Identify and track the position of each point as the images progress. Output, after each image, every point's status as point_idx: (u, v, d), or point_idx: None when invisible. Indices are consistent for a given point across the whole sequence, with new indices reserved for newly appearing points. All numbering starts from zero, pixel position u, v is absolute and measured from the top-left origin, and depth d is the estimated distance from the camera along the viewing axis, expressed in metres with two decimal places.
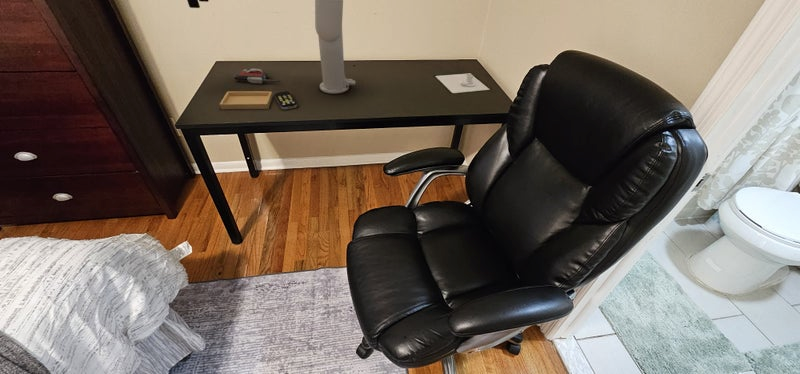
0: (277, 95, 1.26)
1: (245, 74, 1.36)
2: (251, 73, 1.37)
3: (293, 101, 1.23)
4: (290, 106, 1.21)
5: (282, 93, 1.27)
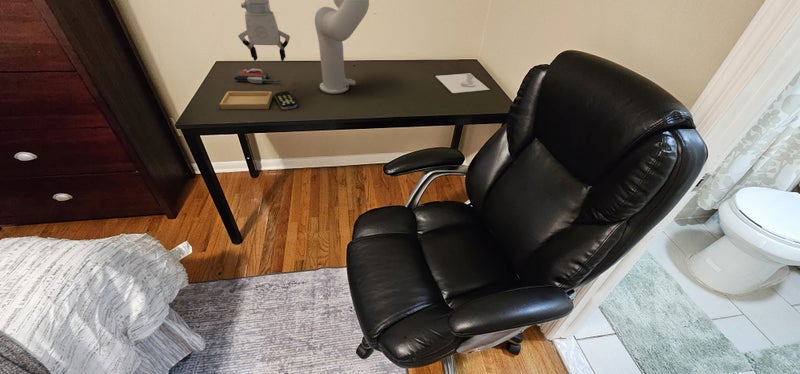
0: (277, 95, 1.26)
1: (245, 74, 1.36)
2: (251, 73, 1.37)
3: (293, 101, 1.23)
4: (290, 106, 1.21)
5: (282, 93, 1.27)
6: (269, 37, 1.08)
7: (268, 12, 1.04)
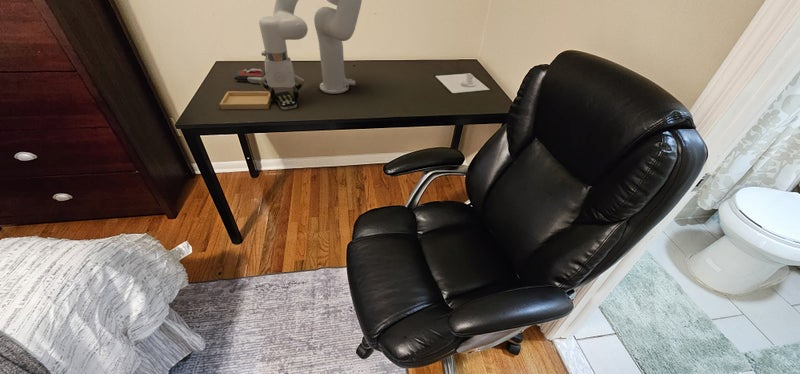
0: (277, 95, 1.26)
1: (245, 74, 1.36)
2: (251, 73, 1.37)
3: (293, 101, 1.23)
4: (290, 106, 1.21)
5: (282, 93, 1.27)
6: (286, 81, 1.17)
7: (286, 59, 1.13)
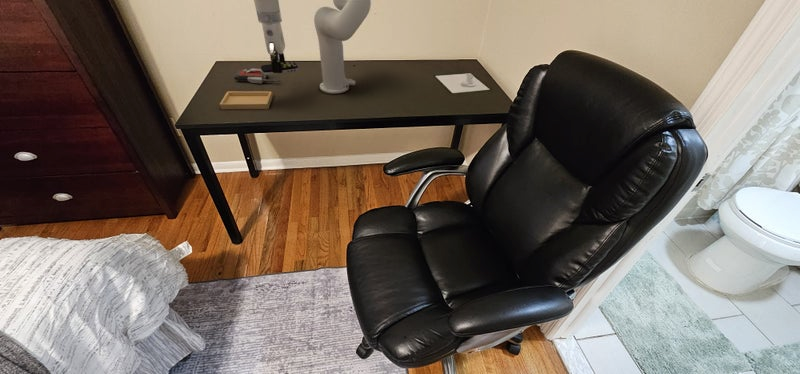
0: (271, 69, 1.13)
1: (245, 74, 1.36)
2: (251, 73, 1.37)
3: (289, 62, 1.19)
4: None
5: (267, 67, 1.14)
6: (283, 41, 1.13)
7: None
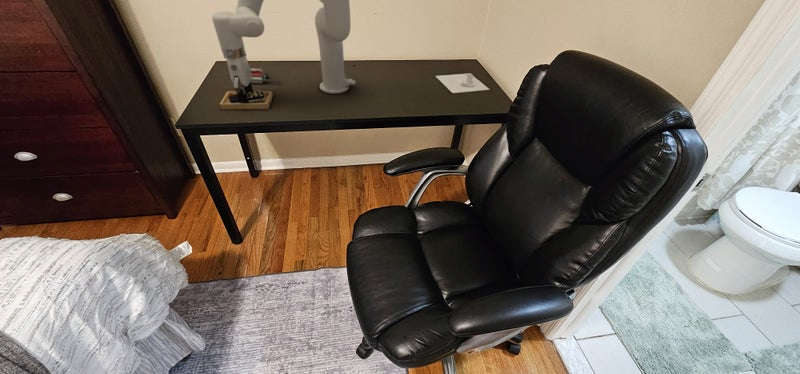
0: (238, 99, 1.19)
1: None
2: (251, 73, 1.37)
3: (256, 91, 1.25)
4: (263, 94, 1.25)
5: (234, 97, 1.20)
6: (249, 73, 1.18)
7: None
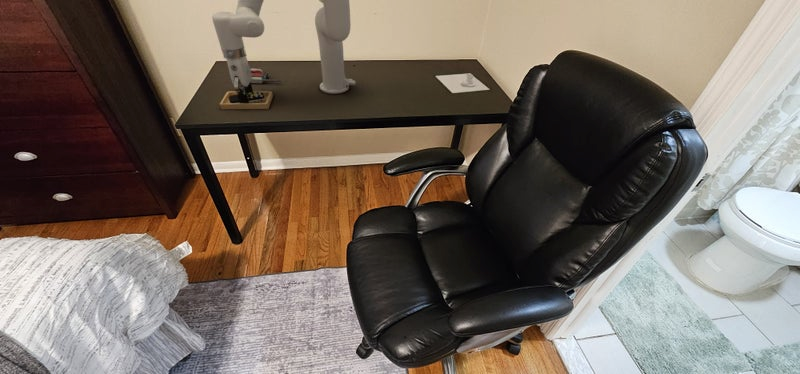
0: (238, 99, 1.19)
1: None
2: (251, 73, 1.37)
3: (257, 92, 1.25)
4: (263, 95, 1.25)
5: (234, 97, 1.20)
6: (249, 73, 1.19)
7: None
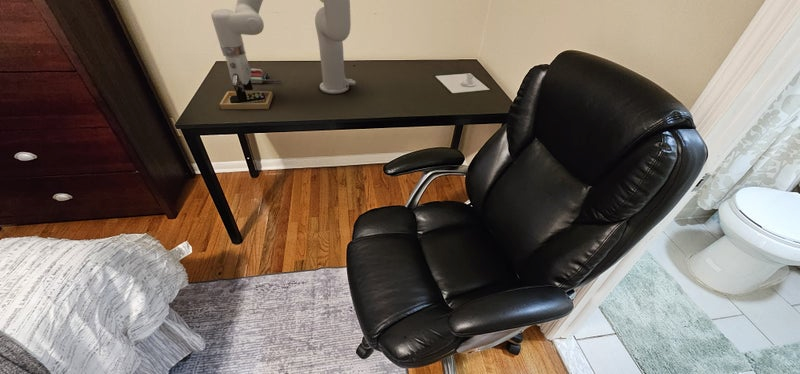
0: None
1: None
2: (251, 73, 1.37)
3: (258, 92, 1.25)
4: (264, 96, 1.25)
5: (235, 98, 1.21)
6: (249, 71, 1.18)
7: None
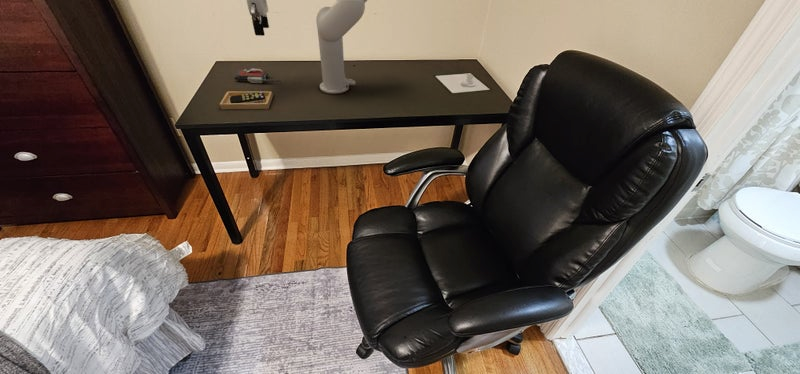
0: (238, 100, 1.19)
1: (245, 74, 1.36)
2: (251, 73, 1.37)
3: None
4: (264, 96, 1.25)
5: (235, 98, 1.21)
6: (266, 4, 1.14)
7: None
